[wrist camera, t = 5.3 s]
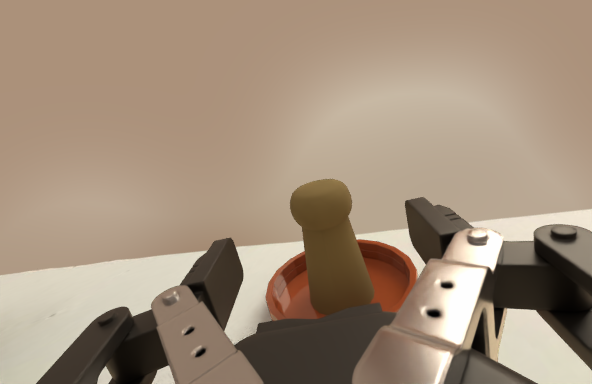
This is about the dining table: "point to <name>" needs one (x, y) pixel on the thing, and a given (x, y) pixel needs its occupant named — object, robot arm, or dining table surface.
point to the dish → (381, 268)
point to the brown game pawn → (331, 247)
